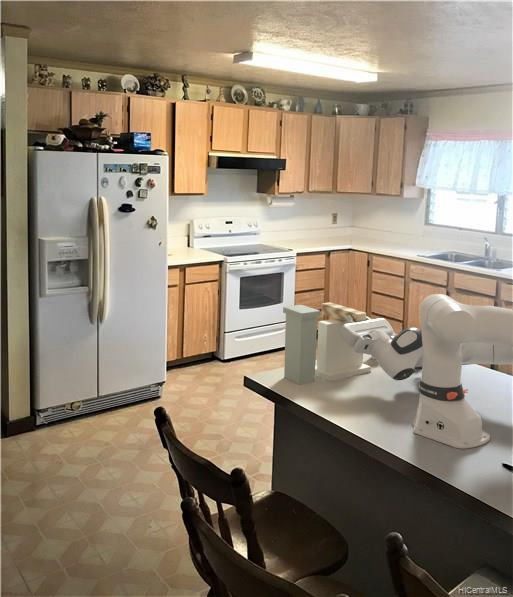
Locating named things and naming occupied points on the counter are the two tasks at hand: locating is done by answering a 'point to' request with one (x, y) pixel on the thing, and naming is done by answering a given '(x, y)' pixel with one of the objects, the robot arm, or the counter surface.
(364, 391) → the counter surface
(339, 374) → the white slab on base
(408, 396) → the counter surface
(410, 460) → the counter surface
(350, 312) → the rod
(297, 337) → the tall grey square pillar
